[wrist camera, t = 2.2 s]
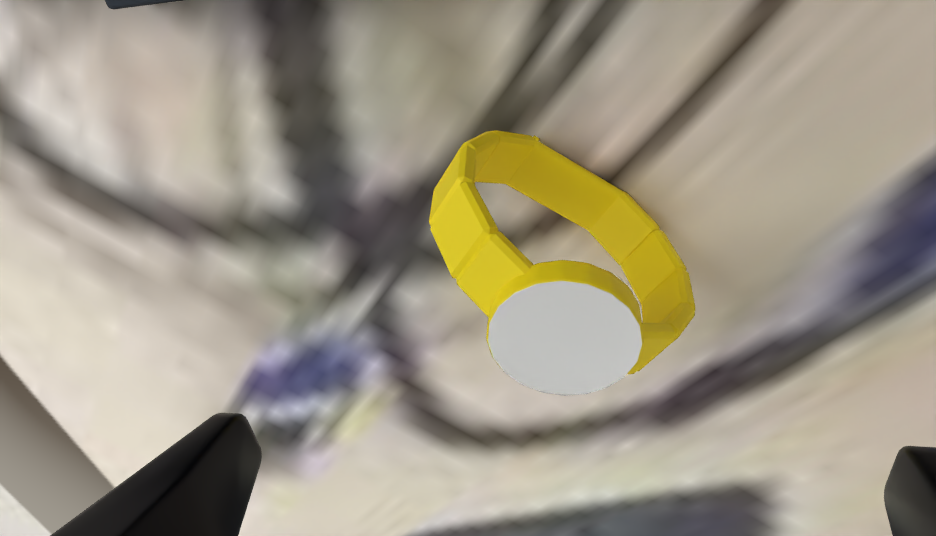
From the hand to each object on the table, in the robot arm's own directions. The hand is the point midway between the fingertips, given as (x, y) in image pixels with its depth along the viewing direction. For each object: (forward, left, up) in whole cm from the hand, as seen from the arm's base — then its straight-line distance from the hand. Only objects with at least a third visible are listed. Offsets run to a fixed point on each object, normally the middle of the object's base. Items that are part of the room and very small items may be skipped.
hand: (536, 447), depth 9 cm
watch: (0, 0, -9) cm, 9 cm away
